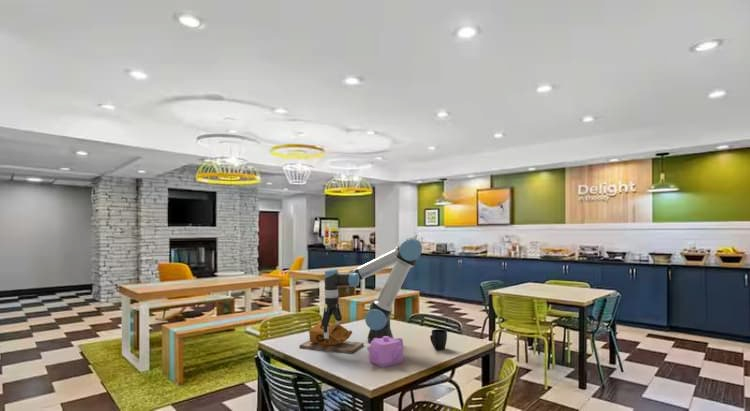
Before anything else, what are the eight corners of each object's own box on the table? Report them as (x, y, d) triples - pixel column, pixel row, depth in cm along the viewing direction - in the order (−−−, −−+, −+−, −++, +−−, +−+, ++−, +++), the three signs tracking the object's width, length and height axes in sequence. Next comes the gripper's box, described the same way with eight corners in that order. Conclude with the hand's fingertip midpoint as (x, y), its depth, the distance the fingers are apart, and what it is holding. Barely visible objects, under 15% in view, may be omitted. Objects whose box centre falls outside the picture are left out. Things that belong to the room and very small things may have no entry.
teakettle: (403, 356, 208) (403, 332, 208) (403, 368, 191) (402, 341, 191) (370, 356, 209) (370, 332, 210) (367, 367, 192) (366, 341, 193)
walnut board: (363, 345, 229) (363, 342, 229) (351, 353, 214) (351, 350, 214) (314, 340, 240) (314, 337, 240) (299, 347, 226) (299, 345, 226)
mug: (424, 350, 218) (424, 332, 218) (437, 345, 226) (437, 328, 227) (437, 353, 212) (436, 335, 213) (450, 348, 221) (449, 330, 221)
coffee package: (307, 328, 227) (341, 334, 217) (320, 319, 238) (352, 324, 228) (308, 344, 229) (342, 351, 219) (321, 335, 240) (353, 341, 230)
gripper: (335, 293, 242) (336, 329, 240) (314, 300, 219) (315, 340, 217) (347, 293, 239) (347, 330, 238) (326, 301, 216) (327, 341, 215)
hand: (332, 335), depth 227 cm, fingers open, 13 cm apart
